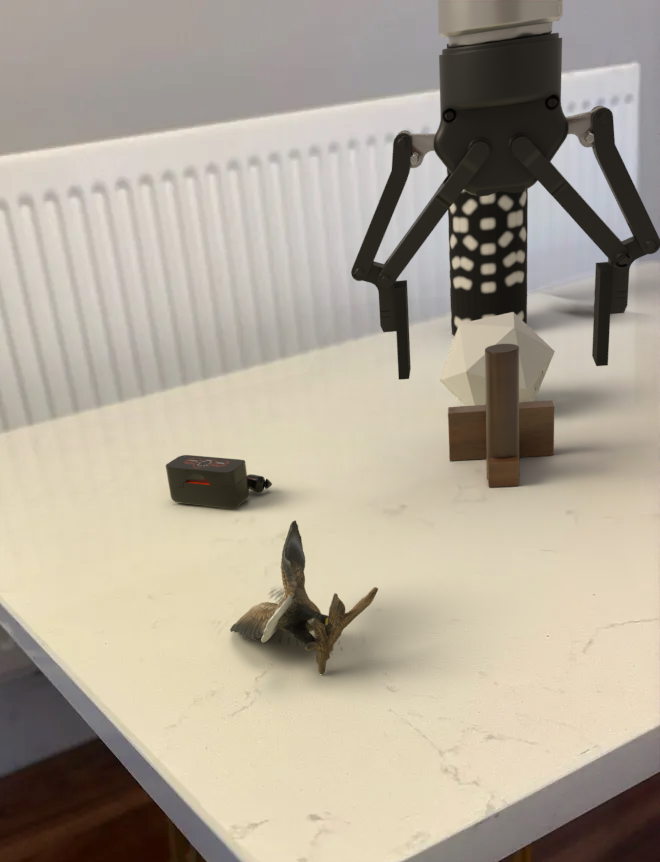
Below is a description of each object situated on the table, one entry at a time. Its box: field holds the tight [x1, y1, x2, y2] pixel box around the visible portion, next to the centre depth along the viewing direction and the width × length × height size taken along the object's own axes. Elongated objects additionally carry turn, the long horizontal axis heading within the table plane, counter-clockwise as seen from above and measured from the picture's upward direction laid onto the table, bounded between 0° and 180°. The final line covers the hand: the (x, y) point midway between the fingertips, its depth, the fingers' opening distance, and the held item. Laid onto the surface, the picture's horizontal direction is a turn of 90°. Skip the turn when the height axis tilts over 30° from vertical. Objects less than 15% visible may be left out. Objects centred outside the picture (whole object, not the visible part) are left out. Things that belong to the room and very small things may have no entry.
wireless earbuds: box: [165, 454, 273, 510], centre depth 82 cm, size 5×7×3 cm, turn 57°
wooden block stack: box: [447, 344, 555, 488], centre depth 78 cm, size 8×8×10 cm
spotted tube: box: [446, 168, 529, 336], centre depth 112 cm, size 8×8×20 cm
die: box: [439, 312, 556, 406], centre depth 91 cm, size 8×9×10 cm
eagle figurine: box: [229, 519, 379, 675], centre depth 59 cm, size 8×7×9 cm
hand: (500, 368), depth 74 cm, fingers open, 13 cm apart
